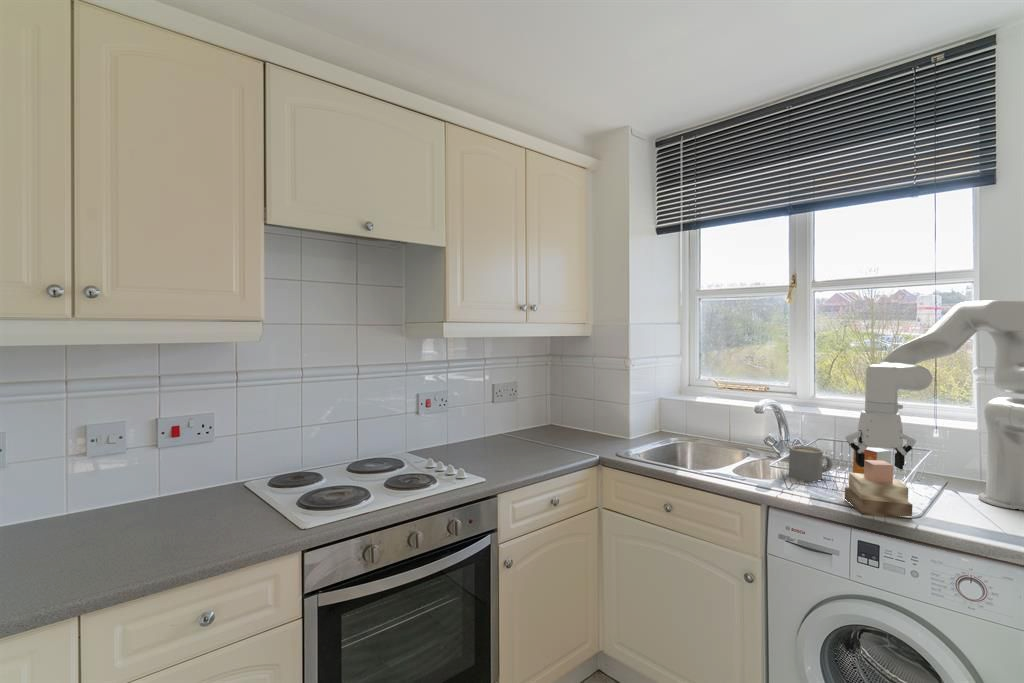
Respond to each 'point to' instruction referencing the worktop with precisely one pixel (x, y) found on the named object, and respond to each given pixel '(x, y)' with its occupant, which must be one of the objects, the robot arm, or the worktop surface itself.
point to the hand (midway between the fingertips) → (879, 467)
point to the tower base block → (877, 506)
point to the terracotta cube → (878, 471)
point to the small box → (872, 457)
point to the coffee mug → (807, 463)
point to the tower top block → (878, 489)
